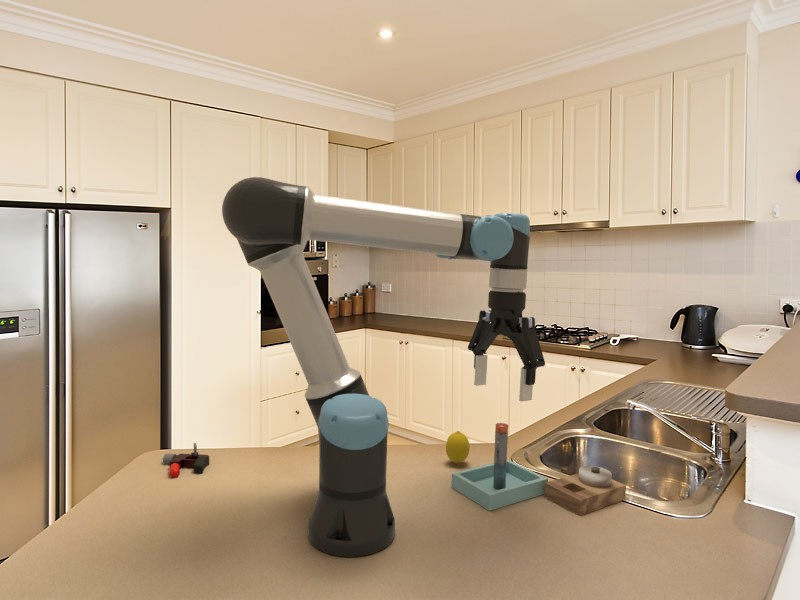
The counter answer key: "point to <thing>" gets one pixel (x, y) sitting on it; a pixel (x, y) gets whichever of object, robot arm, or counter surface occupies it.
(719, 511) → the counter surface
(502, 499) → the tray
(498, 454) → the pin
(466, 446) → the lemon
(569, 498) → the block
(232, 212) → the robot arm
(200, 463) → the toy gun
